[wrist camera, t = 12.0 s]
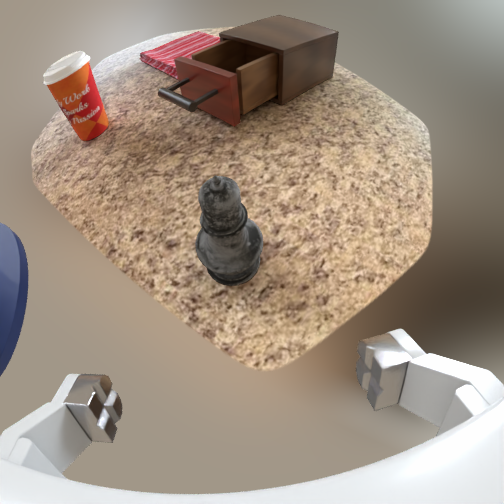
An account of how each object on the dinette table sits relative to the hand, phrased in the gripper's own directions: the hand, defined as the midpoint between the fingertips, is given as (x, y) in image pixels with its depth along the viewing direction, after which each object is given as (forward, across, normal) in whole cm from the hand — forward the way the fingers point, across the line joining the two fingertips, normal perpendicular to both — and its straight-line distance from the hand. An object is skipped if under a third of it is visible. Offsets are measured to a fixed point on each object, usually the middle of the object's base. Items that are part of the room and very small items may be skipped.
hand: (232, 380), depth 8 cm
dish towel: (+53, +2, -30) cm, 61 cm away
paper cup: (+40, +20, -16) cm, 47 cm away
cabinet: (+44, -12, -21) cm, 50 cm away
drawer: (+38, -2, -16) cm, 41 cm away
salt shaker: (+20, 0, +3) cm, 21 cm away
